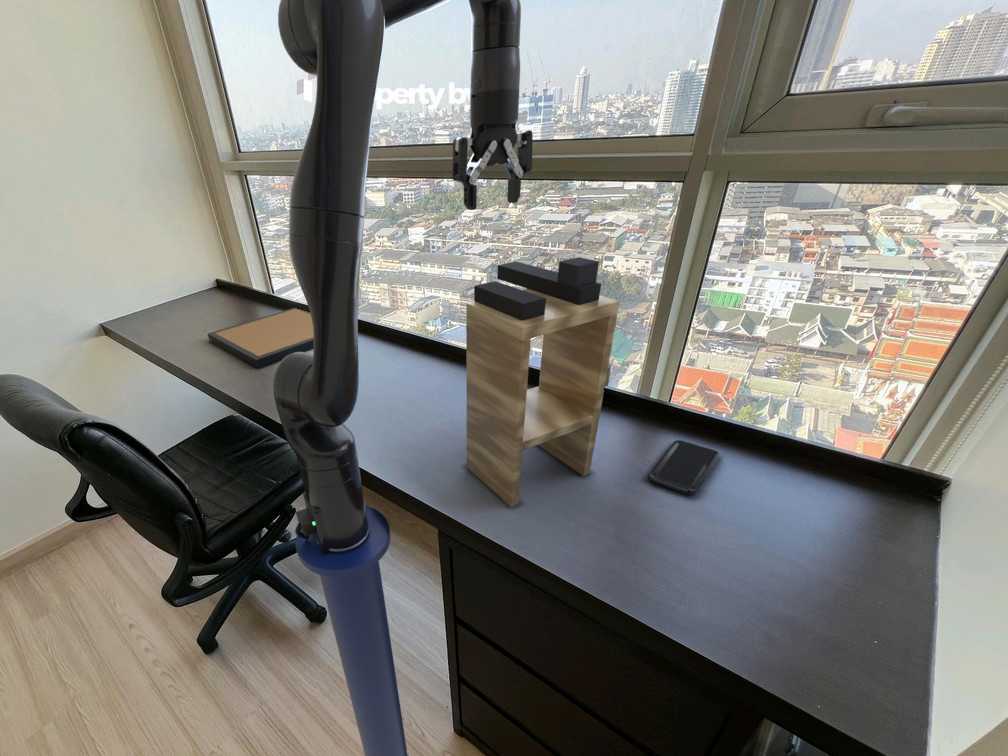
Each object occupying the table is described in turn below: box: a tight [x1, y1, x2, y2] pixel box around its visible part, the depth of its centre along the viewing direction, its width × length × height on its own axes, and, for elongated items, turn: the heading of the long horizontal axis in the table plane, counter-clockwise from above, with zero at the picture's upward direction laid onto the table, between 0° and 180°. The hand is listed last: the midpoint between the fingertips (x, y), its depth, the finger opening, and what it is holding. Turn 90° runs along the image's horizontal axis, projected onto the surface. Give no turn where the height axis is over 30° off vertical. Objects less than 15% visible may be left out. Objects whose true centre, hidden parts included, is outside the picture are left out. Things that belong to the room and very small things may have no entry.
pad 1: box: [473, 280, 546, 321], centre depth 72 cm, size 4×12×2 cm, turn 27°
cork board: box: [207, 307, 314, 370], centre depth 161 cm, size 36×3×35 cm
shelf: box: [465, 288, 620, 507], centre depth 82 cm, size 18×14×32 cm
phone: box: [648, 439, 720, 496], centre depth 88 cm, size 8×1×15 cm
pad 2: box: [497, 256, 602, 305], centre depth 78 cm, size 4×20×5 cm, turn 28°
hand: (492, 205), depth 83 cm, fingers open, 8 cm apart
